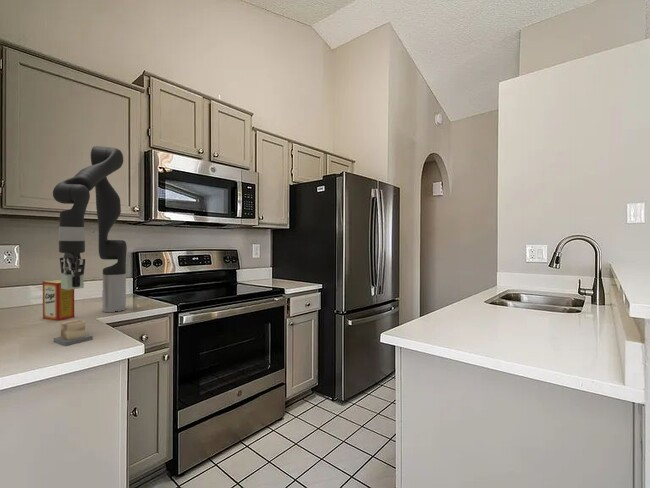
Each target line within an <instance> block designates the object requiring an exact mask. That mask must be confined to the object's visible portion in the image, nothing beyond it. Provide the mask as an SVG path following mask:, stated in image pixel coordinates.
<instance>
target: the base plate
mask: <svg viewBox="0 0 650 488" xmlns="http://www.w3.org/2000/svg"><path fill="white" fill-rule="evenodd" d="M91 340H94V339H93V335H91V334H87V333H85V336H84V337H80V338H76V339H71V340H66V339H63V338H61V336H57V337H54V338H53V342H54V343H57V344H59V345H61V346H64V347H66V346H70V345H74V344H79V343H82V342H87V341H91Z"/></svg>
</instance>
